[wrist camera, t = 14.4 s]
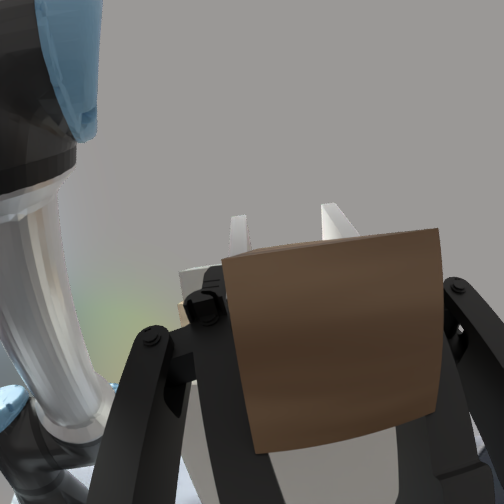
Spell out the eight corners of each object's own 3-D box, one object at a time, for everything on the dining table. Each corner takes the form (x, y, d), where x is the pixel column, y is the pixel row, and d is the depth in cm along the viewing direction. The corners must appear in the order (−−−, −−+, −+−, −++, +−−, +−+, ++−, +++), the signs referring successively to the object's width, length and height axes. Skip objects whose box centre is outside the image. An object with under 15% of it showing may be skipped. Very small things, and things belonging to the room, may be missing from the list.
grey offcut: (224, 298, 26) (219, 266, 26) (183, 302, 26) (178, 271, 26) (231, 290, 31) (227, 263, 31) (195, 294, 31) (191, 267, 31)
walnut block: (435, 411, 4) (438, 227, 4) (255, 454, 5) (221, 259, 5) (297, 278, 32) (292, 243, 32) (262, 283, 33) (257, 248, 33)
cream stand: (397, 537, 16) (447, 337, 16) (223, 563, 17) (139, 384, 17) (365, 463, 34) (367, 297, 34) (235, 482, 35) (196, 322, 35)
